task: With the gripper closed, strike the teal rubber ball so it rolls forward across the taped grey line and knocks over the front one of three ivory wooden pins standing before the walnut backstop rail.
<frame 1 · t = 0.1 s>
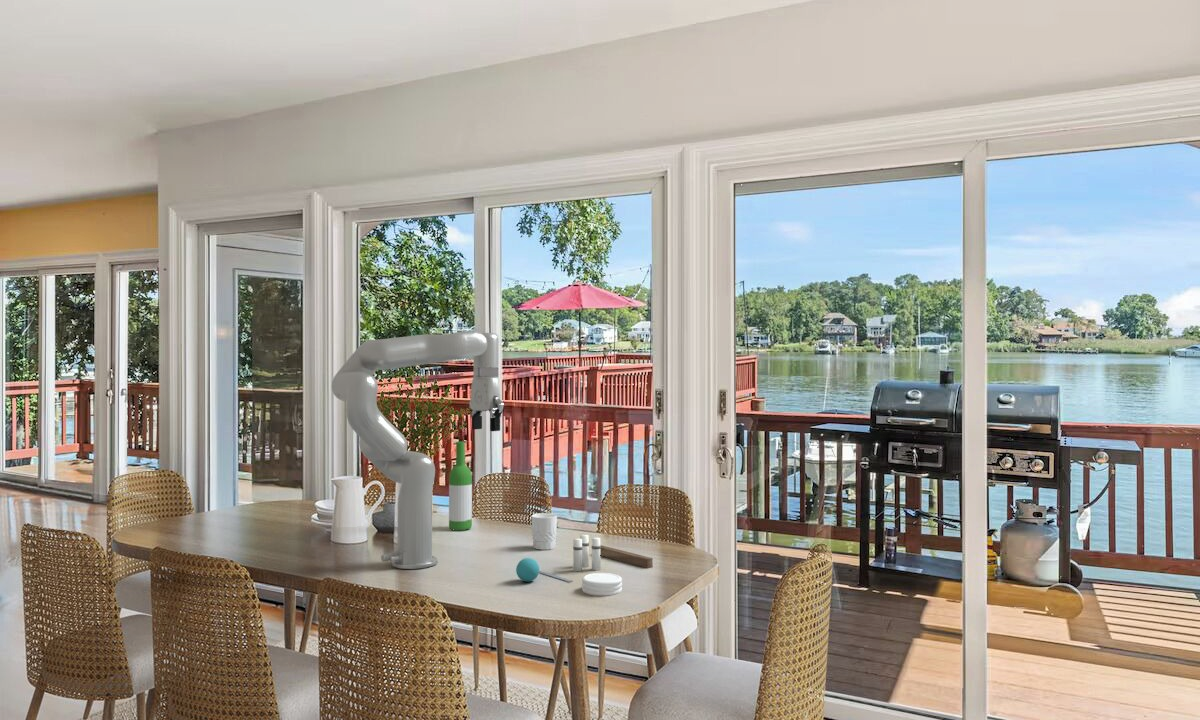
hand: (486, 430, 245), 37 cm above the table, tool pointing down, fingers open, 9 cm apart
pin back right: (596, 569, 223), on the table
ball: (527, 569, 211), on the table
wine bottle: (460, 529, 279), on the table
pin back left: (584, 566, 227), on the table
backstop: (622, 560, 234), on the table
pin front: (577, 570, 222), on the table
coaster: (602, 592, 203), on the table
white cup: (544, 548, 250), on the table
foul line: (551, 576, 216), on the table
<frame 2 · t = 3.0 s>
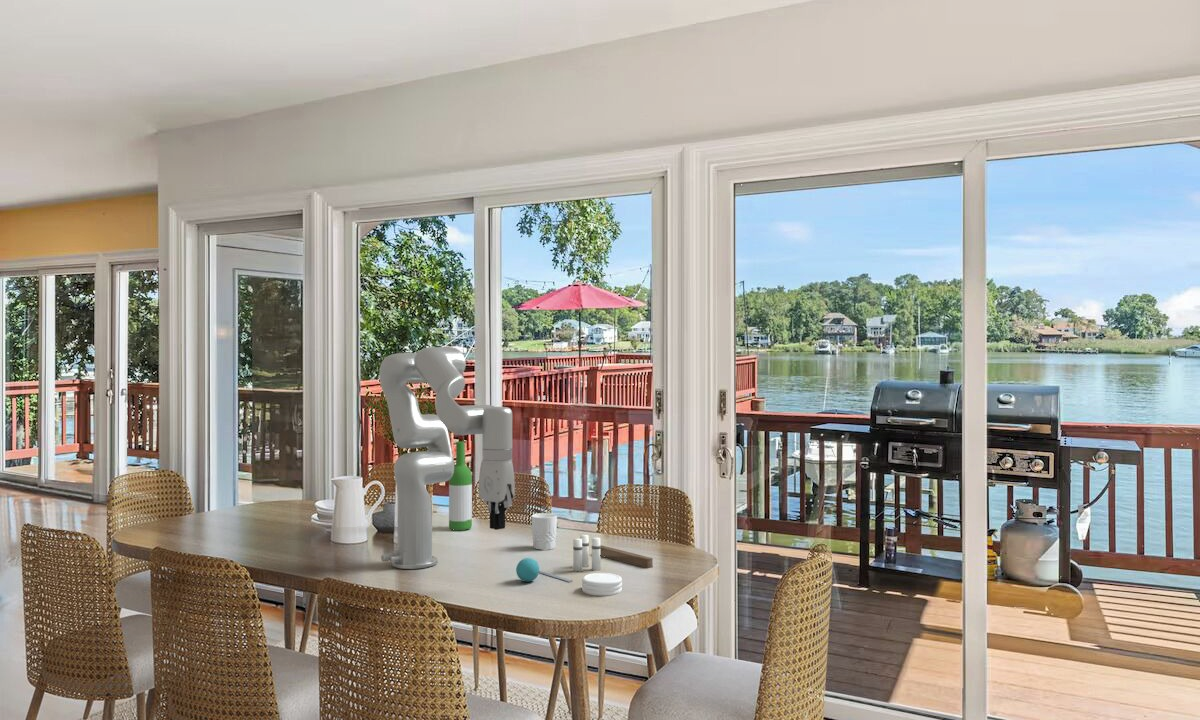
hand: (497, 528, 205), 15 cm above the table, tool pointing down, fingers closed
nothing on the table moved.
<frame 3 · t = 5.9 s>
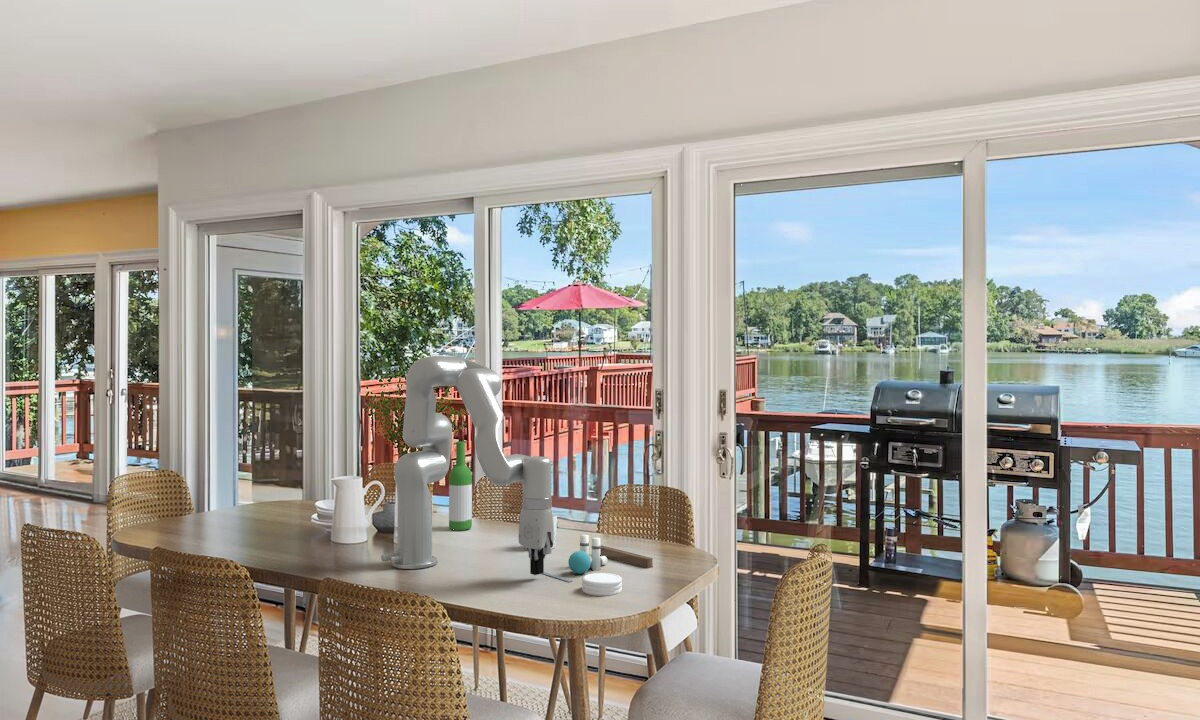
hand: (537, 573, 213), 2 cm above the table, tool pointing down, fingers closed
ball: (579, 562, 219), on the table
pin front: (581, 565, 223), point 1 cm above the table, tilted 90°
everything else where it was.
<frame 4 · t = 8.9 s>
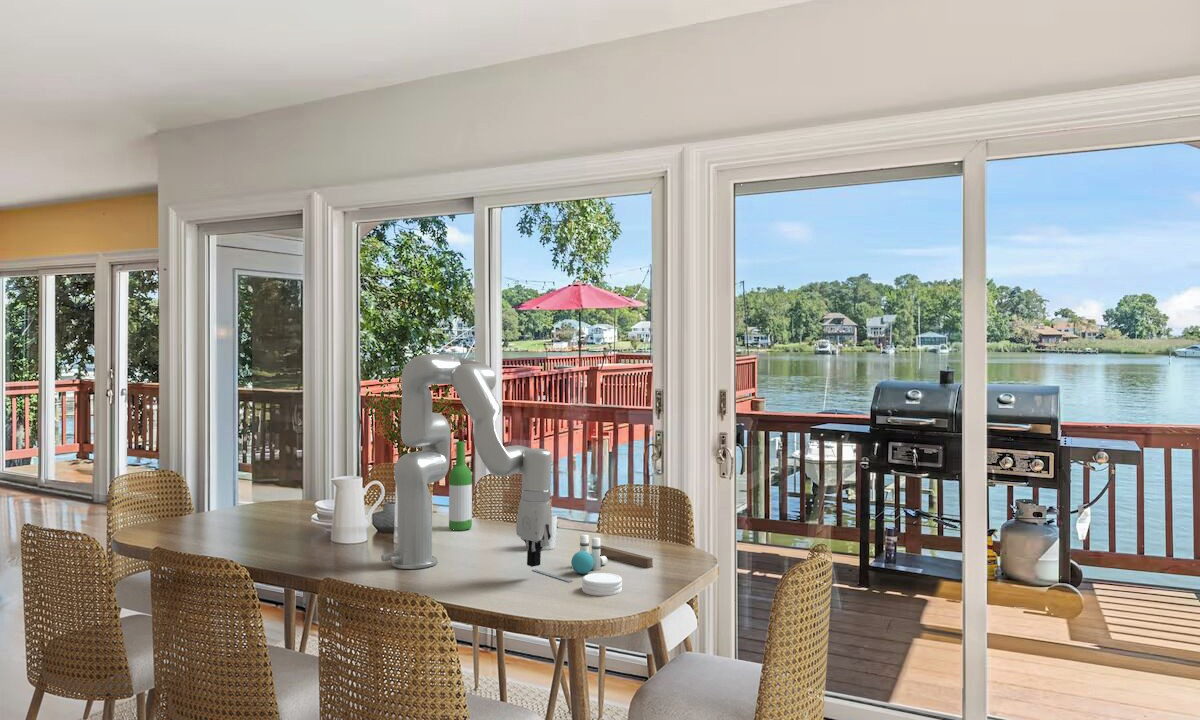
hand: (533, 565, 213), 4 cm above the table, tool pointing down, fingers closed
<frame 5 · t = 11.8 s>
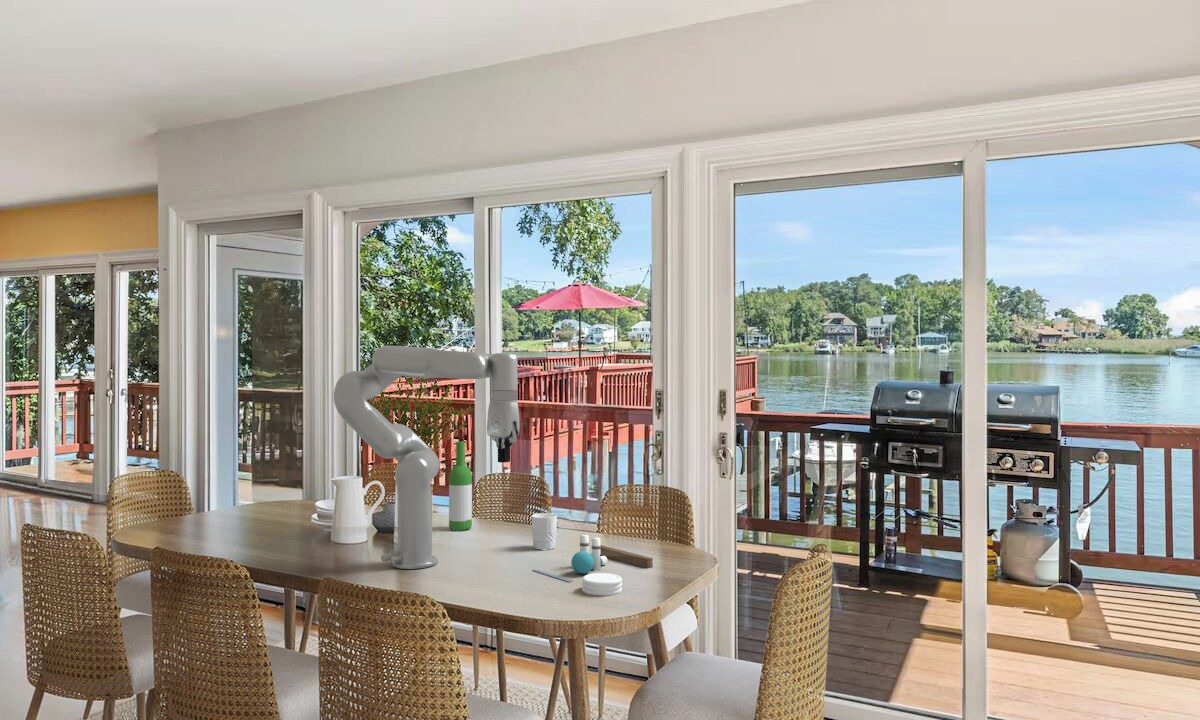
hand: (504, 461, 228), 29 cm above the table, tool pointing down, fingers closed
nothing on the table moved.
at the end: pin front tilted 90°; pin front never touched the robot; ball moved 16.2 cm from its start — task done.
